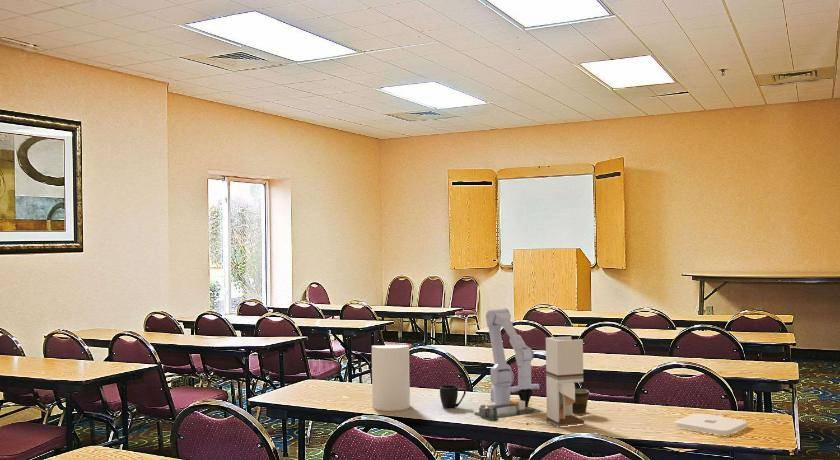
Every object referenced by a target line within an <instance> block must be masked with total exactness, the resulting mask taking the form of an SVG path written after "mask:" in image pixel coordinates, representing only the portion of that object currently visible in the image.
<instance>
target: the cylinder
mask: <svg viewBox="0 0 840 460" xmlns="http://www.w3.org/2000/svg"><path fill="white" fill-rule="evenodd" d="M410 378H411V376H410V345H407V344H406V345H404V344H402V345H401V344H400V345H396V344H395V345H394V344H393V345H371V379H372V380H371V387H372V389H371V393H372V395H371V398H372V399H371V402H372V408H373V409H374V410H378V411H386V412H387V411H388V412H389V411H390V412H393V411H401V410H403V411H404V410H405V409H406V408H407V409H409V408H410V405H411V397H410V396H411V394H410V393H411V391H410V390H411V388H410V387H411V381H410ZM408 407H409V408H408Z"/></svg>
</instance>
